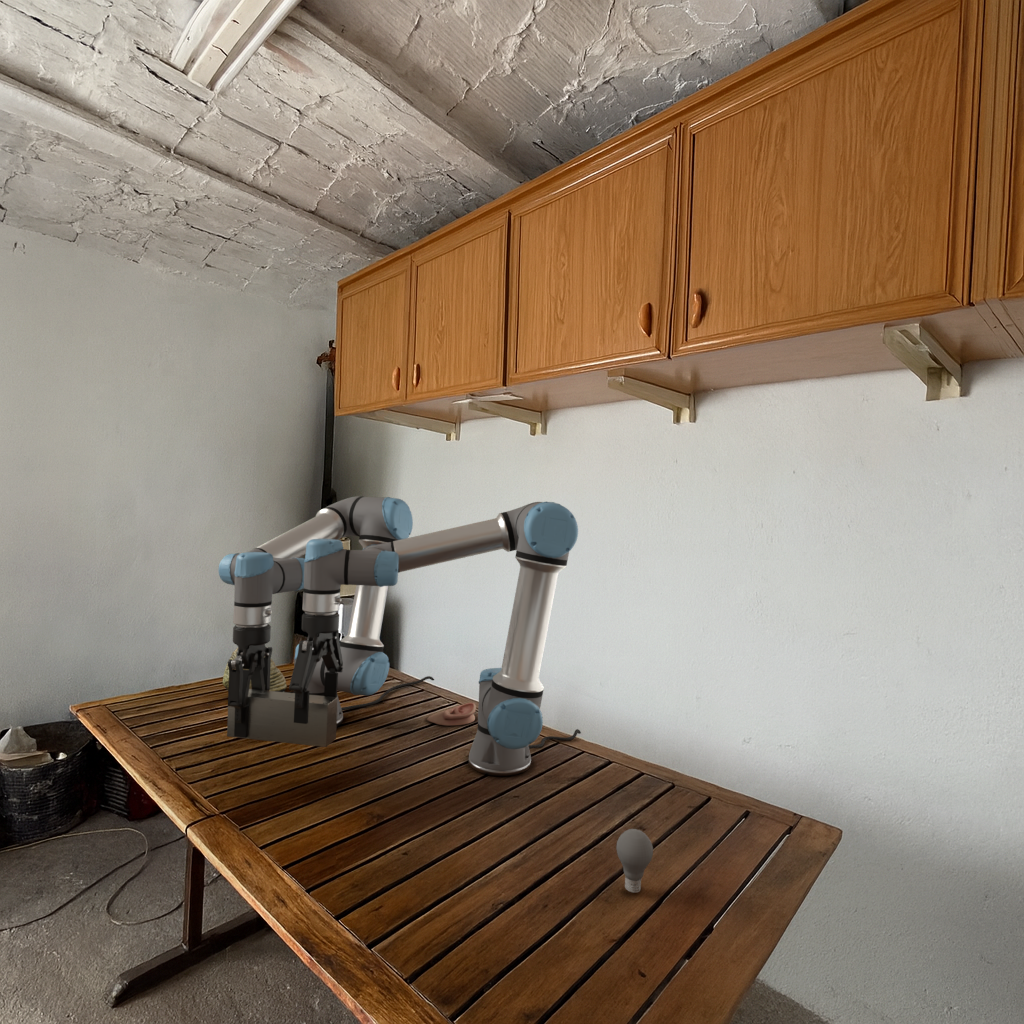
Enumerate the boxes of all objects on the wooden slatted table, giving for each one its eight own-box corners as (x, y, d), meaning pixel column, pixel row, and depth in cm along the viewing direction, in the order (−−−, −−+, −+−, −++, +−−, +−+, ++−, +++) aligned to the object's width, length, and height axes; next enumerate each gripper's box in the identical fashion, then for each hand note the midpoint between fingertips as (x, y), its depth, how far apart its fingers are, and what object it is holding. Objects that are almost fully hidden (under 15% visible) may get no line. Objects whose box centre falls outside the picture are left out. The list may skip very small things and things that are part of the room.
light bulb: (610, 879, 108) (613, 822, 108) (644, 879, 109) (647, 822, 109) (619, 902, 102) (622, 840, 102) (655, 901, 103) (658, 840, 103)
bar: (226, 736, 135) (228, 694, 135) (240, 728, 140) (241, 688, 139) (326, 747, 131) (327, 704, 131) (336, 738, 136) (337, 697, 136)
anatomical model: (423, 709, 179) (436, 697, 190) (423, 723, 179) (436, 710, 190) (469, 714, 176) (479, 702, 188) (468, 728, 177) (478, 715, 188)
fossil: (218, 695, 195) (220, 647, 195) (278, 685, 208) (279, 640, 207) (228, 703, 189) (230, 653, 188) (289, 692, 201) (290, 645, 201)
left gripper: (244, 634, 127) (240, 749, 127) (289, 618, 145) (285, 719, 145) (210, 631, 128) (206, 745, 128) (258, 615, 146) (255, 716, 146)
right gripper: (310, 624, 121) (304, 734, 121) (360, 604, 146) (356, 696, 146) (273, 621, 122) (268, 730, 122) (329, 601, 147) (325, 692, 147)
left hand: (248, 731), depth 137 cm, fingers closed on bar, 5 cm apart
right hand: (316, 712), depth 134 cm, fingers open, 13 cm apart
